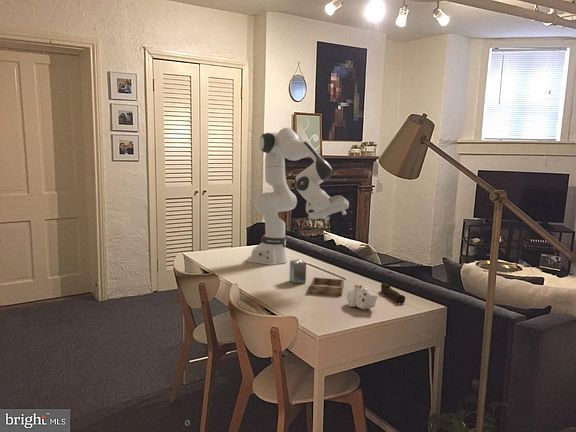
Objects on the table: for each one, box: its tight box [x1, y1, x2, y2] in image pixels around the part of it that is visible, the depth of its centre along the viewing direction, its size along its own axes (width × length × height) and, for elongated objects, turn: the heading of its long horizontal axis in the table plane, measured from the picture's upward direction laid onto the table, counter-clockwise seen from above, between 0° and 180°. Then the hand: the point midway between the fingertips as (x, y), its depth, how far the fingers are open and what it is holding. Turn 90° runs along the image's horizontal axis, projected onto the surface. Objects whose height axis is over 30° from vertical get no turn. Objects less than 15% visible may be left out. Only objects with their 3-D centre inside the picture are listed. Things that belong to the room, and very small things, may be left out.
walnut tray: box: [309, 277, 345, 297], centre depth 217 cm, size 14×14×4 cm
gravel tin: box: [289, 258, 307, 285], centre depth 228 cm, size 6×6×11 cm
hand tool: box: [380, 282, 406, 304], centre depth 210 cm, size 19×4×5 cm, turn 12°
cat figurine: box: [346, 284, 379, 310], centre depth 194 cm, size 10×8×15 cm
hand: (336, 216), depth 233 cm, fingers open, 8 cm apart
